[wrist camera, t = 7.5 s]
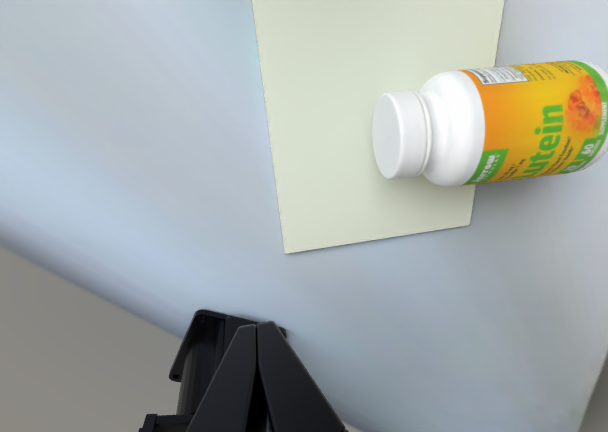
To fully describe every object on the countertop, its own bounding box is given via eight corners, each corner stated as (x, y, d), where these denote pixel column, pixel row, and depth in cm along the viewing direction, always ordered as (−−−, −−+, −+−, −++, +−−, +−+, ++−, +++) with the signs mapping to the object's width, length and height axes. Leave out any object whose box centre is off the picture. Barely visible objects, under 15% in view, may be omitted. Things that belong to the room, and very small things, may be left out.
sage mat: (503, -34, 18) (509, -35, 17) (465, 221, 25) (469, 224, 24) (250, -12, 17) (250, -13, 16) (283, 249, 24) (284, 253, 23)
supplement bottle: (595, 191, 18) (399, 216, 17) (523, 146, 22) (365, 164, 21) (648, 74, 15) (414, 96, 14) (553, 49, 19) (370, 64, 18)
